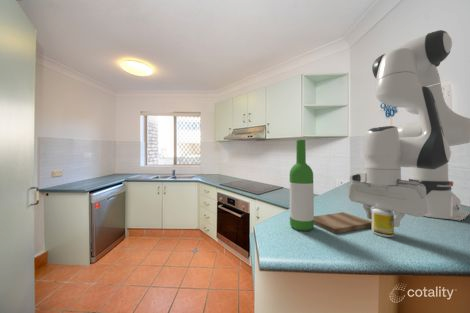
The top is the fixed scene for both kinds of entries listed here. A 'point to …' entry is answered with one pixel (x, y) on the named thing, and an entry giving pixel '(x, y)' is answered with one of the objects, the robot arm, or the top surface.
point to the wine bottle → (301, 191)
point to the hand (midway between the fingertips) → (382, 222)
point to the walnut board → (341, 222)
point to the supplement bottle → (382, 221)
